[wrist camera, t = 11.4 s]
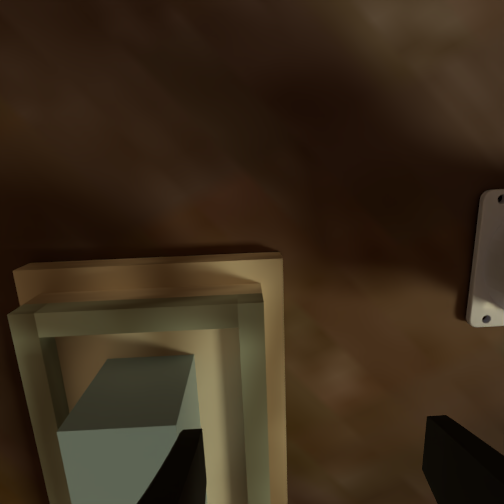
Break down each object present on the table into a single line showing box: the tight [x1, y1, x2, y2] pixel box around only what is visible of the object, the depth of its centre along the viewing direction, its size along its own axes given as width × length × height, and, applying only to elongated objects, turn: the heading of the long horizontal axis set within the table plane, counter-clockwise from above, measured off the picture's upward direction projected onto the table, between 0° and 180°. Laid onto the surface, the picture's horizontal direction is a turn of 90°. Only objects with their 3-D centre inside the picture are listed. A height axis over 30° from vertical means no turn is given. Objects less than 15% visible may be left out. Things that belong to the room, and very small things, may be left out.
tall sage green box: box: [57, 354, 208, 504], centre depth 17 cm, size 4×11×5 cm, turn 2°
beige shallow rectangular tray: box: [7, 252, 287, 504], centre depth 20 cm, size 14×20×4 cm
